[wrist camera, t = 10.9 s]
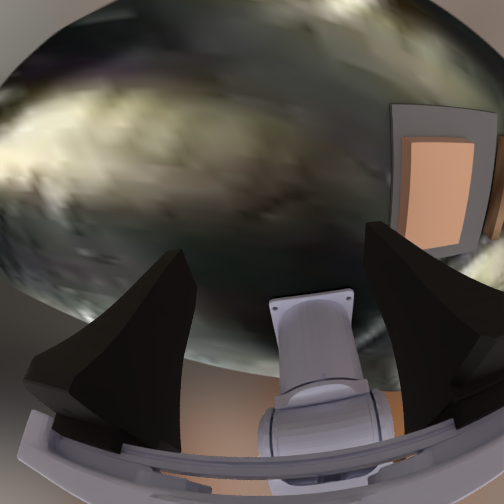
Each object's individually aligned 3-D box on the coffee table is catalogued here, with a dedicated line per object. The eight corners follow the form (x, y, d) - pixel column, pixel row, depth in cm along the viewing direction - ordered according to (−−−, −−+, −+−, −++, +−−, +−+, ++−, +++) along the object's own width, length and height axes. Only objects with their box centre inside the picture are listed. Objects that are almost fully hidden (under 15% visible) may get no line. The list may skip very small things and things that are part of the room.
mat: (473, 248, 22) (475, 250, 21) (384, 264, 23) (385, 267, 23) (494, 112, 14) (497, 113, 13) (389, 103, 15) (391, 104, 15)
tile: (458, 243, 19) (402, 253, 20) (450, 234, 21) (396, 242, 21) (474, 143, 14) (411, 142, 15) (463, 137, 15) (401, 137, 16)
